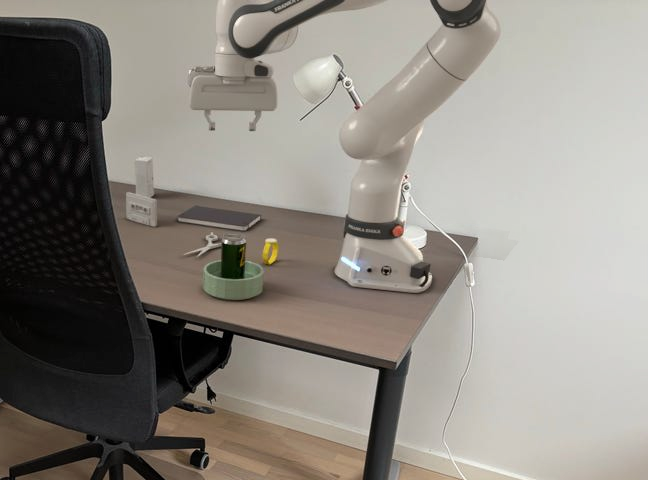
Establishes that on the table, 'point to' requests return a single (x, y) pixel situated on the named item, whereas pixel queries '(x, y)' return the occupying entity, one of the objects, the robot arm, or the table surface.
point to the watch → (266, 251)
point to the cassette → (139, 215)
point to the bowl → (233, 282)
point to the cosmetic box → (144, 176)
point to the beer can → (233, 256)
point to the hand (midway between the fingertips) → (232, 130)
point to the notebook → (219, 218)
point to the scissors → (210, 245)
